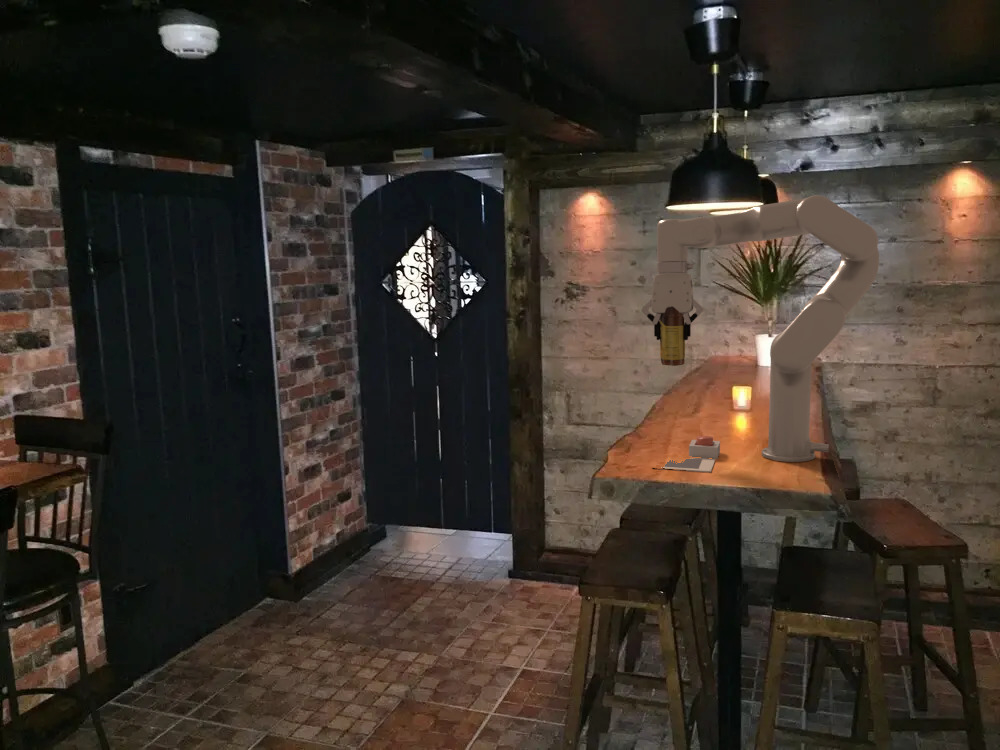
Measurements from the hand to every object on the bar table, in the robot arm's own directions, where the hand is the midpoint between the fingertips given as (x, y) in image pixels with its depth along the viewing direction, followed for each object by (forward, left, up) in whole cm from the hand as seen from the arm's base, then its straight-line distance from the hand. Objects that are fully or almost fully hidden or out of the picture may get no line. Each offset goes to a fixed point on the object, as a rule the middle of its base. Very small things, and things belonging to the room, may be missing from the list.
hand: (672, 338), depth 212 cm
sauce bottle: (0, 0, -7) cm, 7 cm away
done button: (-9, +4, -28) cm, 29 cm away
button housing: (-9, +4, -29) cm, 31 cm away
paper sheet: (-5, +14, -29) cm, 33 cm away
